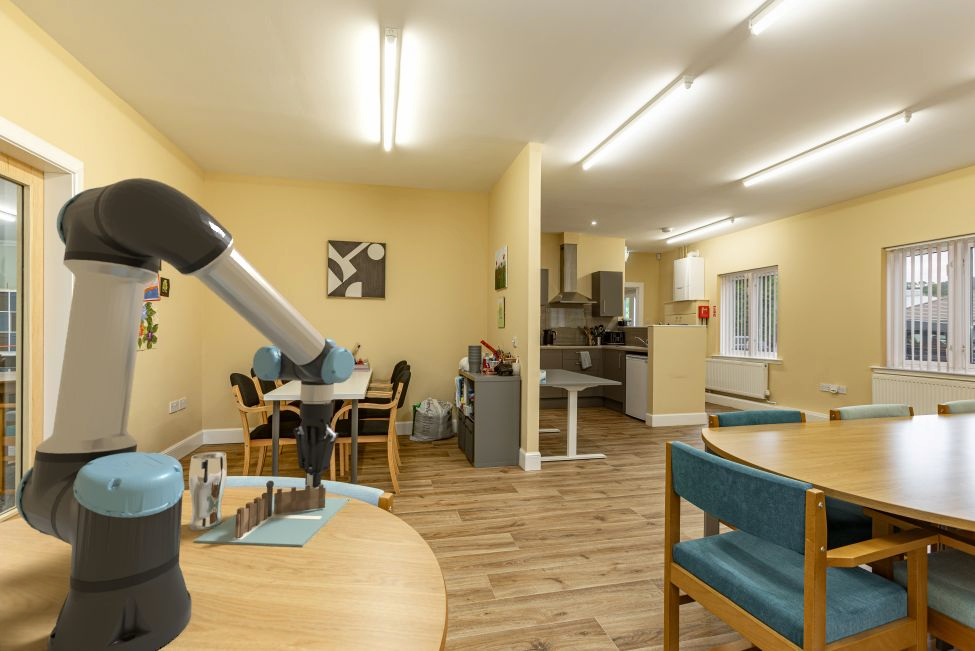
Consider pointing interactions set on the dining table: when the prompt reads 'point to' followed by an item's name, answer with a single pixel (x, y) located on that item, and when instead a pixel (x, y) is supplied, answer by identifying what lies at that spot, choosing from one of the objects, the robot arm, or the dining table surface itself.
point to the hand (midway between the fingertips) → (312, 500)
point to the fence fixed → (254, 512)
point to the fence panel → (299, 500)
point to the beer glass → (207, 489)
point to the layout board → (277, 527)
